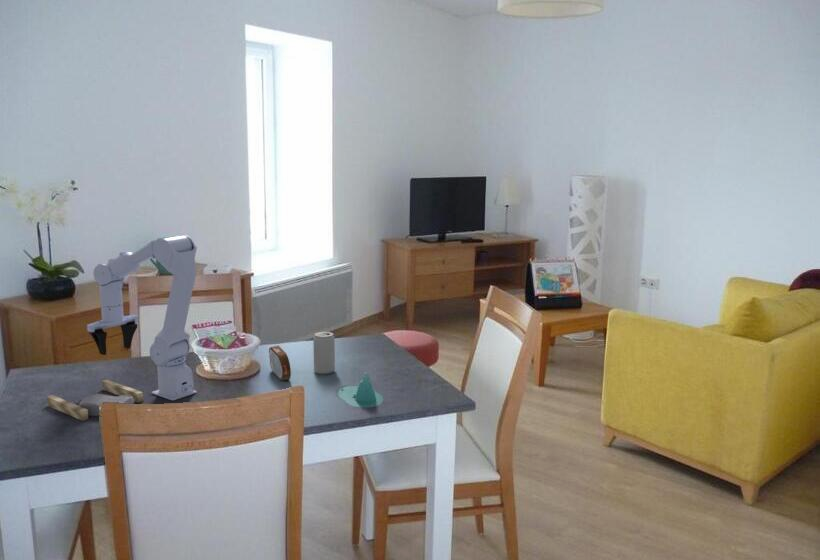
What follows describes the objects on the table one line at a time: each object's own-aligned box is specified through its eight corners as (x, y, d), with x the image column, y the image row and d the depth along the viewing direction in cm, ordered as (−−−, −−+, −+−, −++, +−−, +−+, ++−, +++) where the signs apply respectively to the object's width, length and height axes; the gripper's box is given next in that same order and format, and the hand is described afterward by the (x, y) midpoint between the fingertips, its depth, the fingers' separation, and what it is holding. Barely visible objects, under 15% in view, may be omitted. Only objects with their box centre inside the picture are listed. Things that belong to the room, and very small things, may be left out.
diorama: (365, 383, 203) (365, 354, 202) (395, 405, 186) (395, 375, 184) (326, 389, 198) (326, 360, 196) (353, 413, 180) (353, 381, 179)
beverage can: (338, 372, 211) (338, 334, 209) (319, 376, 207) (319, 337, 205) (329, 367, 216) (328, 330, 214) (310, 370, 213) (309, 332, 210)
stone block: (96, 409, 185) (75, 416, 175) (97, 391, 185) (76, 397, 175) (139, 413, 184) (120, 420, 174) (140, 395, 184) (121, 401, 174)
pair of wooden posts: (143, 401, 186) (142, 392, 186) (82, 420, 173) (81, 411, 172) (107, 387, 196) (106, 379, 196) (47, 405, 182) (46, 396, 182)
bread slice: (292, 383, 202) (291, 355, 200) (281, 384, 200) (280, 356, 199) (277, 368, 215) (277, 342, 213) (267, 369, 214) (267, 343, 212)
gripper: (126, 298, 204) (129, 343, 207) (79, 307, 193) (83, 354, 195) (141, 301, 200) (144, 347, 203) (93, 311, 189) (97, 359, 191)
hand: (115, 351), depth 199 cm, fingers open, 7 cm apart
